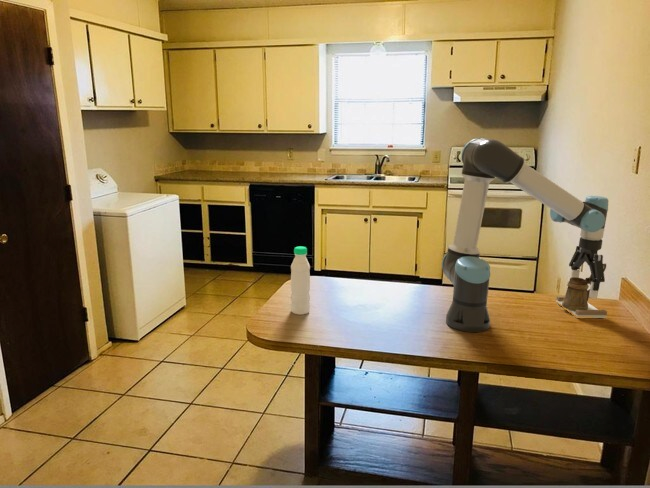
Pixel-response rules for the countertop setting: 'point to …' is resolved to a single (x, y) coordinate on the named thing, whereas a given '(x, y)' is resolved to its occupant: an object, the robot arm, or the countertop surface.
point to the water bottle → (300, 282)
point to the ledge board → (585, 313)
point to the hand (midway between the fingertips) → (582, 291)
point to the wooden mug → (578, 293)
